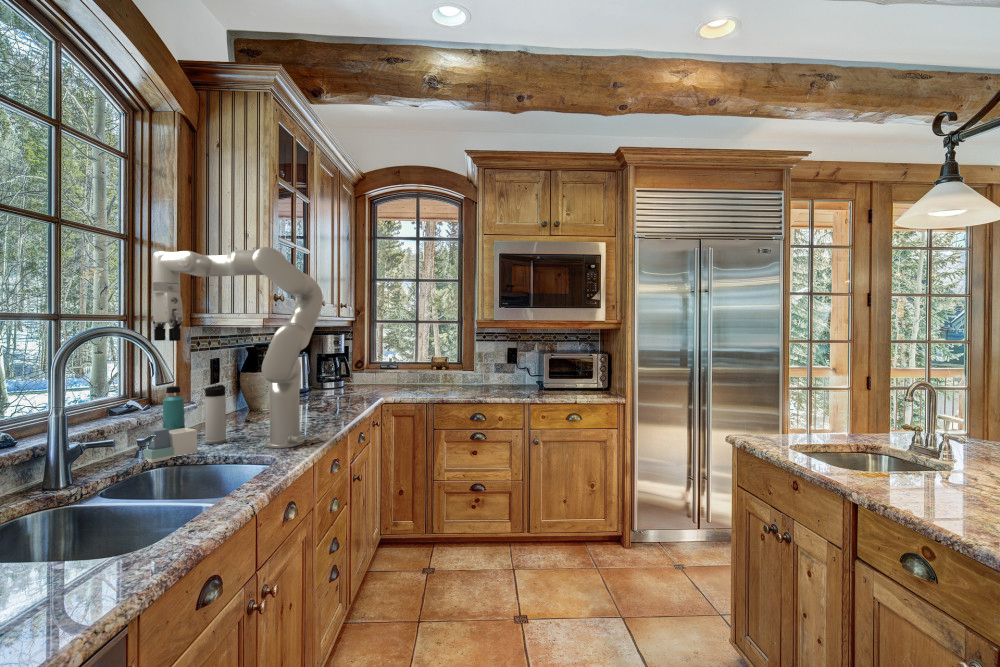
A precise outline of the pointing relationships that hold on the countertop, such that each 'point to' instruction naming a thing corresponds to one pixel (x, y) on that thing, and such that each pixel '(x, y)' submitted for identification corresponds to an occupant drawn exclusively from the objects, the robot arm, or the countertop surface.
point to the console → (174, 445)
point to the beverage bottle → (173, 410)
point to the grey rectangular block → (163, 438)
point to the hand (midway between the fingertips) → (167, 340)
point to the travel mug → (215, 415)
